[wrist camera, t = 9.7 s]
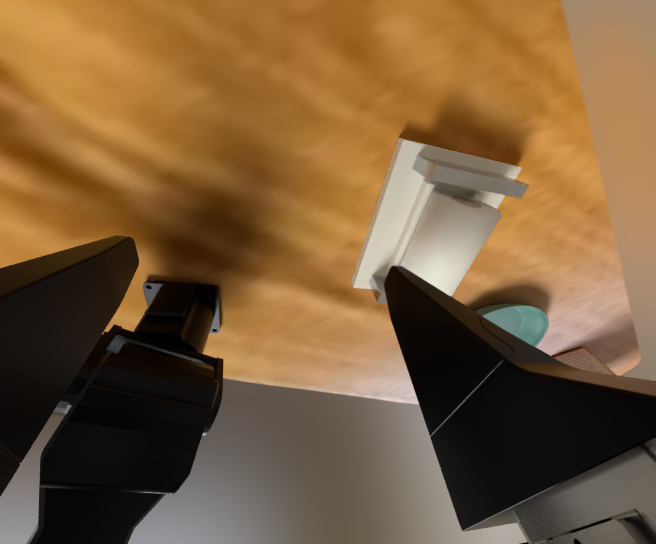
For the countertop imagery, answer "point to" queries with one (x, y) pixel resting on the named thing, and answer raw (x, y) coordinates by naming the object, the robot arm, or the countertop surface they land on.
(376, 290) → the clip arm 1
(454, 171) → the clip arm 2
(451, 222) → the paper roll
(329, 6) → the countertop surface
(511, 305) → the green round piece
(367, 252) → the holder base
